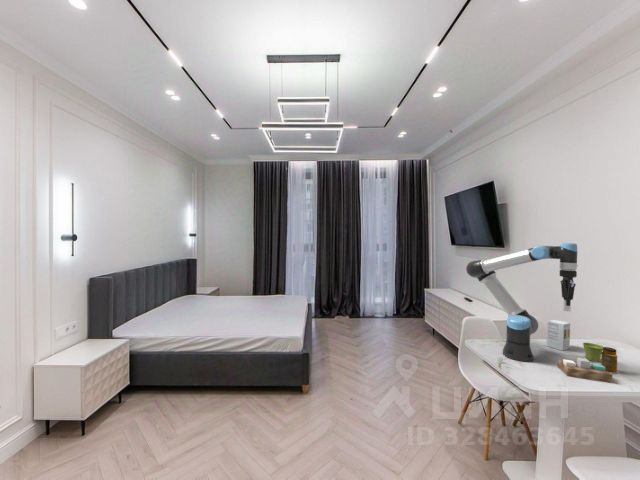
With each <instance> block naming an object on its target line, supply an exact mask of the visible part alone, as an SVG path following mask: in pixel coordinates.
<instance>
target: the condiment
mask: <svg viewBox="0 0 640 480" xmlns="http://www.w3.org/2000/svg"><path fill="white" fill-rule="evenodd" d="M617 353H618V352H617V349H616V348H613V347H609V346H603V350H602V354H601V358H600V362H601V365H602V366H604V367H605V370H607V371H608V372H609V373H611V374H612V375H613V374H622V372H620V371H618V355H617Z"/></svg>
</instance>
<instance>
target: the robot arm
mask: <svg viewBox="0 0 640 480" xmlns="http://www.w3.org/2000/svg"><path fill="white" fill-rule="evenodd" d="M548 259H551V260H559V276H560V277H561V278H562V280H560V287H561V298H563V311H564V312H569V313H571V307H572V306H571V302H572V301H573V299H574V294H575V287H576V283H574V278H577V277H578V276H577V274H578V272H577V270H578V267H579V265H578V245H577V243H573V242H572V243H571V242H568V243H567V242H561V243H560V245H559V246H558V245H557V246H556V245H555V246H553V245H537V246H534V247H531V248H527V249H523V250H519V251H516V252H512V253H508V254H504V255H500V256H497V257H493V258H489V259H480V260H479V259H478V260H471V261H469V262H468V263H467V265H466V267H465V270H466V273H467V274H468V275H469V276H470V277H471V278H474V279H477V280H478V281H479V282H480V283H481V284H484V286H486V288H487V290H488V291H489V292H490V293H491V294H492V296H493V297H494V298H495V299H496V301H497V302H498V303H499V305H500V306H501V308H502V309H503V310H504V312H505V313H506V314H507V315H508V316H507V317H506V318H507V319H506V340H505V343H504V346H503V348H502V355H503V356H504V355H505V358H508V359H511V360H514V361H520V362H533V361H534V354H533V352H532V351H533V350H532V348H531V335H533V334H535V333H536V332H537V330H538V329H539V321H538V320H537V318H536V317H534V316H533V315H531V314H530V313H529V312H528V311H527V310H526V309H524V308H522V307H521V306H520V305H519V303H518V302H517V301H516V300H515V298H513V296H512V295H511V294H510V293H509V291H508V290H507V289H506V288H505V286H504V285H503V284H502V282H501V281H500V280H499V279H498V277H497V273H496V271H497V270H502V269H503V270H504V269H506V268H510V267H514V266H519V265H524V264H528V263H531V262H537V261H540V260H548Z"/></svg>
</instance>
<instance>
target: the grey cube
mask: <svg viewBox="0 0 640 480" xmlns="http://www.w3.org/2000/svg"><path fill="white" fill-rule="evenodd" d="M576 362H577V366H578V367H580V368H585V369H590V364H591V360H587V359H586V358H580V357H577V358H576Z"/></svg>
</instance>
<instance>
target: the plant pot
mask: <svg viewBox="0 0 640 480" xmlns="http://www.w3.org/2000/svg"><path fill="white" fill-rule="evenodd" d="M581 344H582V345H583V348H584V354H585V355H584V357H585V359H587V360H588V361H590V362H591V361H592V362H595V363H599V362H601V358H602V352H603V351H602V350H603V347H604V346H603V345H600V344H598V343H594V342H582V343H581Z"/></svg>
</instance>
